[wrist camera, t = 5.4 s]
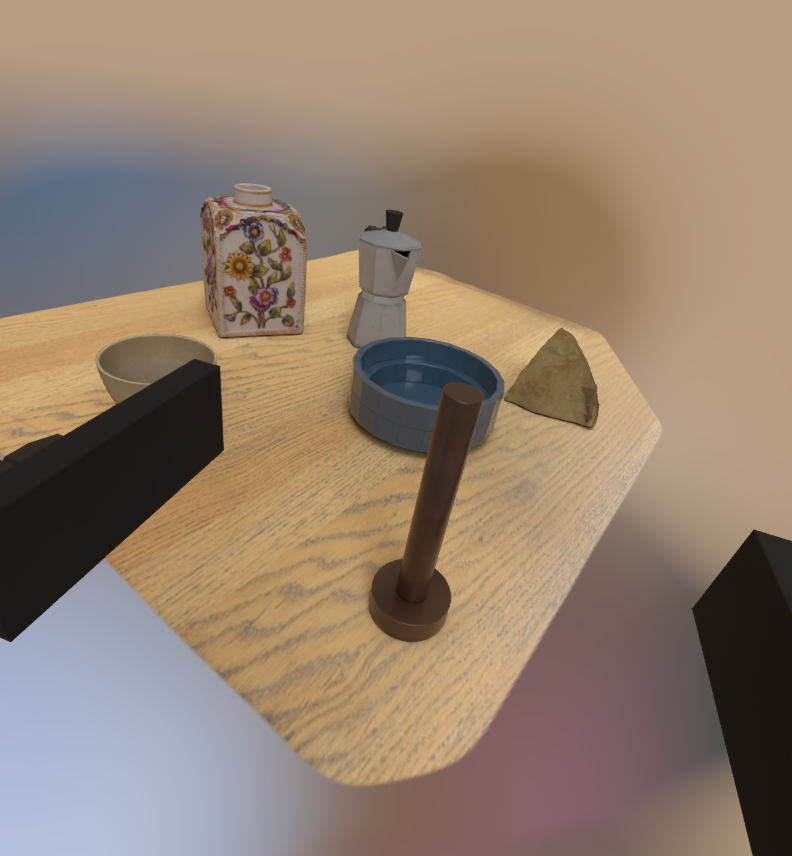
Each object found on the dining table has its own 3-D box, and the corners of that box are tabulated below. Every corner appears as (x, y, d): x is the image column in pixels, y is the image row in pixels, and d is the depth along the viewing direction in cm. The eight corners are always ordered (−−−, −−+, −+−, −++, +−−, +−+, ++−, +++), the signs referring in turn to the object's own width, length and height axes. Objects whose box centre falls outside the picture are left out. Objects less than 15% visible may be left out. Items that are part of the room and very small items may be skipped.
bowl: (518, 430, 58) (534, 385, 54) (418, 479, 47) (430, 428, 44) (420, 369, 67) (428, 328, 64) (319, 399, 57) (322, 352, 53)
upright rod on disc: (461, 613, 36) (537, 403, 26) (405, 657, 32) (469, 435, 22) (409, 563, 39) (458, 359, 29) (352, 598, 35) (388, 380, 25)
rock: (624, 408, 61) (568, 362, 67) (627, 368, 54) (565, 321, 60) (555, 460, 61) (505, 410, 67) (549, 427, 54) (494, 374, 60)
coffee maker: (420, 359, 70) (447, 226, 60) (362, 362, 66) (380, 221, 56) (382, 317, 81) (400, 199, 71) (331, 318, 77) (341, 193, 67)
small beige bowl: (109, 459, 43) (94, 388, 39) (108, 400, 50) (95, 335, 47) (228, 443, 48) (225, 377, 44) (211, 391, 55) (207, 331, 51)
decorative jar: (304, 335, 70) (311, 200, 60) (219, 340, 65) (211, 192, 55) (281, 304, 79) (284, 180, 69) (204, 305, 74) (196, 172, 64)
